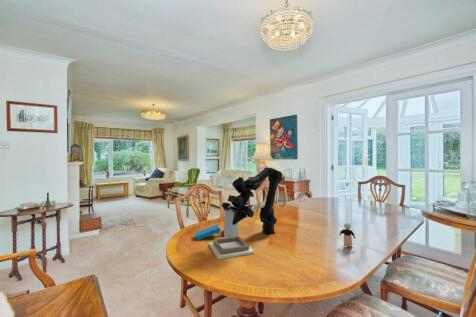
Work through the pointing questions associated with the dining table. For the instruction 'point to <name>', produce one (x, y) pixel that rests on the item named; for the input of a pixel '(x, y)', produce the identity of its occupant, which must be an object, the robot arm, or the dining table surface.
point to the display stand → (230, 247)
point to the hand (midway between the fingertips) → (229, 223)
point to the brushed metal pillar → (230, 223)
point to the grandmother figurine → (347, 235)
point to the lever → (208, 232)
